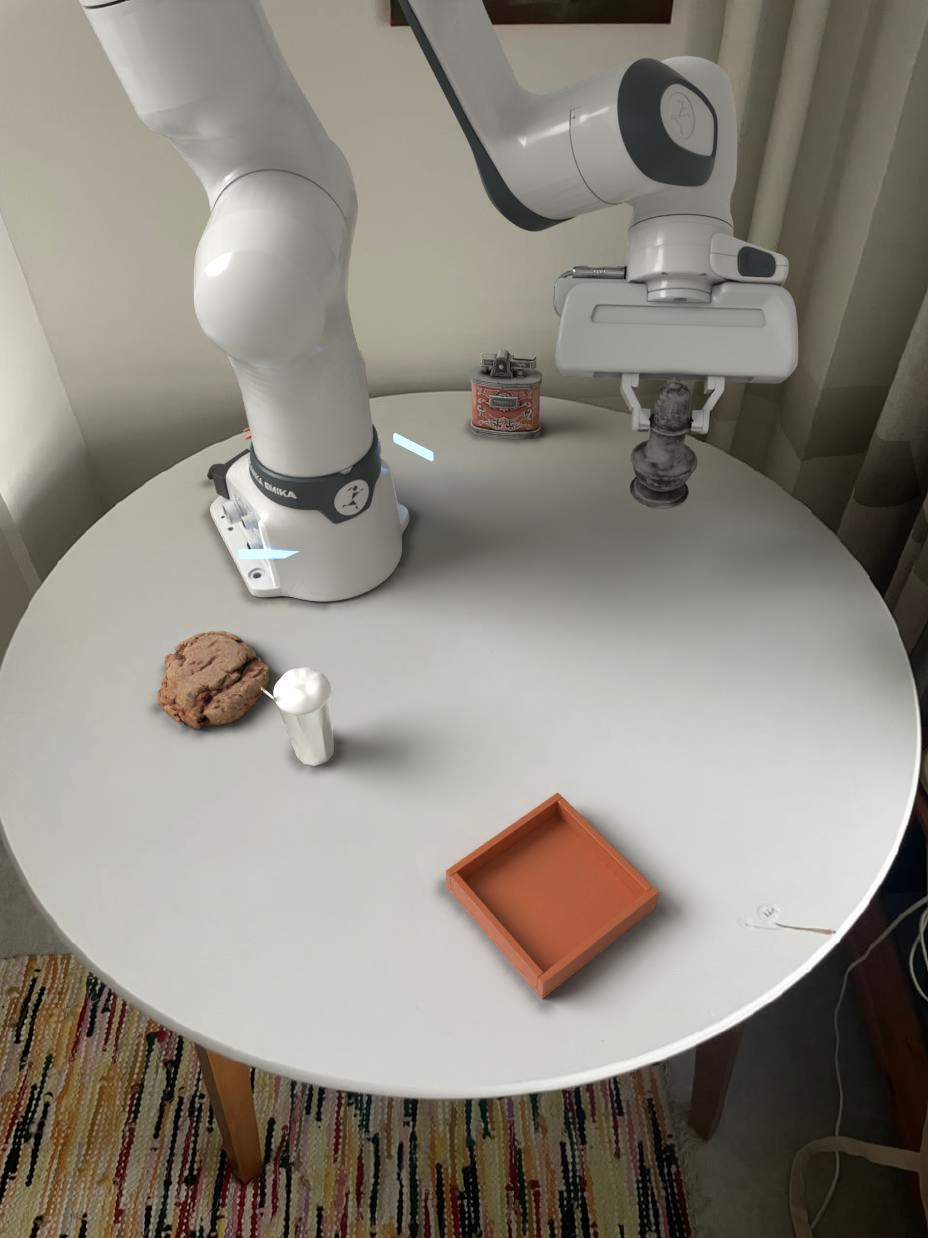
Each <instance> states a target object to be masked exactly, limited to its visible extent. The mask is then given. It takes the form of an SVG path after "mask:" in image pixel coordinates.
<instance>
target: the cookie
mask: <svg viewBox="0 0 928 1238" xmlns="http://www.w3.org/2000/svg"><path fill="white" fill-rule="evenodd" d="M174 651H175V652H174V653H173V654H172V653H167V654H166V655H165V656H164V667H165V669H166V672H165V673H164V676H163V677H162V679H161V682H160V687H159V690H158V692H157V702H158V705H159V706H160V707H161V708H162V711H163V712H165V713H166V714H167V715H168V716H169V717H170V718H171V719H173V720H174V721H175V722H177V723H180V724H183V725H184V726H185V725H188V727H192V728H193V729H194V730H196V729H201V728H202V727H203V726H204V727H205V726H210V727H211V725H212V726H216V727H217V726H221V725H226V724H230V723H232V722H236V721H237V720H238V719H240V718H243V715H244V714H245V713H247V712H248V711H249V710H250V709H251V708H252V707H253V706H254V705H255V704H256V703H257V702H258V700H259V699H260V697H261V696H264V695H265V692H263V691H262V690H261V687H263V688H264V689H265V690H266V691H267V685H268V683H269V671H270V669H269V665H268V664H266V663H264V662H263V661H262V658H261V657H259V656H258V657H257V654H256V652H255V651H254V649H253V648H252V647H251V646H249V645H248V644H247V643H246V642H245V641H244V640H243V639H242V638H241V637H239V636H238V635H236V634H234V633H231V632H227V631H225V630H224V631H222V630H221V631H215V630H212V631H207V632H199V633H197V634H195V635H193V636H191V637H189V638H187V639H184V640H183V641H180V642H179V643H178V644H177V645H176V646H175V647H174ZM260 686H261V687H260Z"/></svg>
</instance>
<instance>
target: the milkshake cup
mask: <svg viewBox="0 0 928 1238" xmlns="http://www.w3.org/2000/svg"><path fill="white" fill-rule="evenodd" d="M260 687H261V686H260ZM261 690H262V691H263V692H264V694H265V695H267V696H268V697H269V698H270V699H272V700H273V701H274V702H275V704H276V706H277V709H278V712H279V714H280V716H281V718H282V720H283V723H284V726H285V729H286V732H287V734H288V737H289V739H290V742H291V745H292V748H293V751H294V753H295V755H296V757H297V759H298V760H299V761H301V763H302V765H307V766H312V767H316V766H319V765H322V764H325V763H327V762H328V761H329V760H330V759H331V757H332V756H333V755H335V754H334V753H335V750H334V748H335V747H334V730H333V717H332V687H331V683H330V680H329V679H328V677H326V675H325V674H323V673H322V672H321V671H318V670H317V669H314V668H313V667H299V668H292V669H289V670H288V671H286V672H285V673H284V674H282V676H281V677H280V678H279V680H277V682H276V683H275V685H274V687H273V694H271V693H270V692H268V691H267V689H266V690H265V689H264V688H263V687H261Z"/></svg>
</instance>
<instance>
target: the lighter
mask: <svg viewBox="0 0 928 1238" xmlns="http://www.w3.org/2000/svg"><path fill="white" fill-rule="evenodd" d="M479 363H480V364H479V365H476V366H473V367H472V368H471V369H470V371H469V380H470V382H471V416H472V417H471V420H470V430H471V432H472V433H474V434H476V435H480V436H485V437H489V438H497V439H508V440H509V439H510V440H523V439H524V440H525V439H535V438H537V437H539V435H540V434H541V422H540V409H541V408H540V406H541V405H540V404H541V385H542V383H543V374H542V372H541V370H539V369H536V368H537V356H536V355H535V354H527V353H526V354H525V353H514V354H511V353H510V352H509V351H508V349H507V350H506V349H499V350H498V351H497V352H481V353H480V355H479Z"/></svg>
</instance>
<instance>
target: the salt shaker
mask: <svg viewBox="0 0 928 1238" xmlns="http://www.w3.org/2000/svg"><path fill="white" fill-rule="evenodd" d="M691 400H692V393H691V390H690V389H689V387H688V386H687V385H686V384H684V383H682V382H681V381H680V379H679V378H678V376H676V377H674V378H673V379H672V380H671V381H669V382H668V381H667V382H664V383H663V384H661V385H660V386H659V387H658V388H657V391H656V394H655V402H654V409H653V413H651V416H650V418H649V420H650V430H649V437H648V439H646V440H643V441H641V442H640V443H638V444H636V445H635V446H634V447H633V448H632V450H631V451H630V455H629V456H630V463H631V465H632V469H633V472H634V475H635V476H634V477H633V478H632V480H631V482H630V484H629V492H630V495H631V496H632V498H633V499H634V500H635V501H636V502H638V503H639V504H641V505H643V506H645V507H648V508H651V509H657V510H667V509H673V508H676V507H679V506H680V505H682V504H683V503H685V502H686V500H687V499H688V497H689V493H690V490H689V486H688V484H687V482H688V480H689V479H690V478H691V476H692V474H693V473H694V472H695V471H696V469H697V466H698V464H699V462H698V461H699V460H698V456H697V454H696V453H695V451H694V449H692V448H691V447H690V446H689V445H687V444H686V443H685V442H686V437H687V436H686V435H687V432H688V430H689V429H690V424H691V421H690V420H689V413H690V406H691Z"/></svg>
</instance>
